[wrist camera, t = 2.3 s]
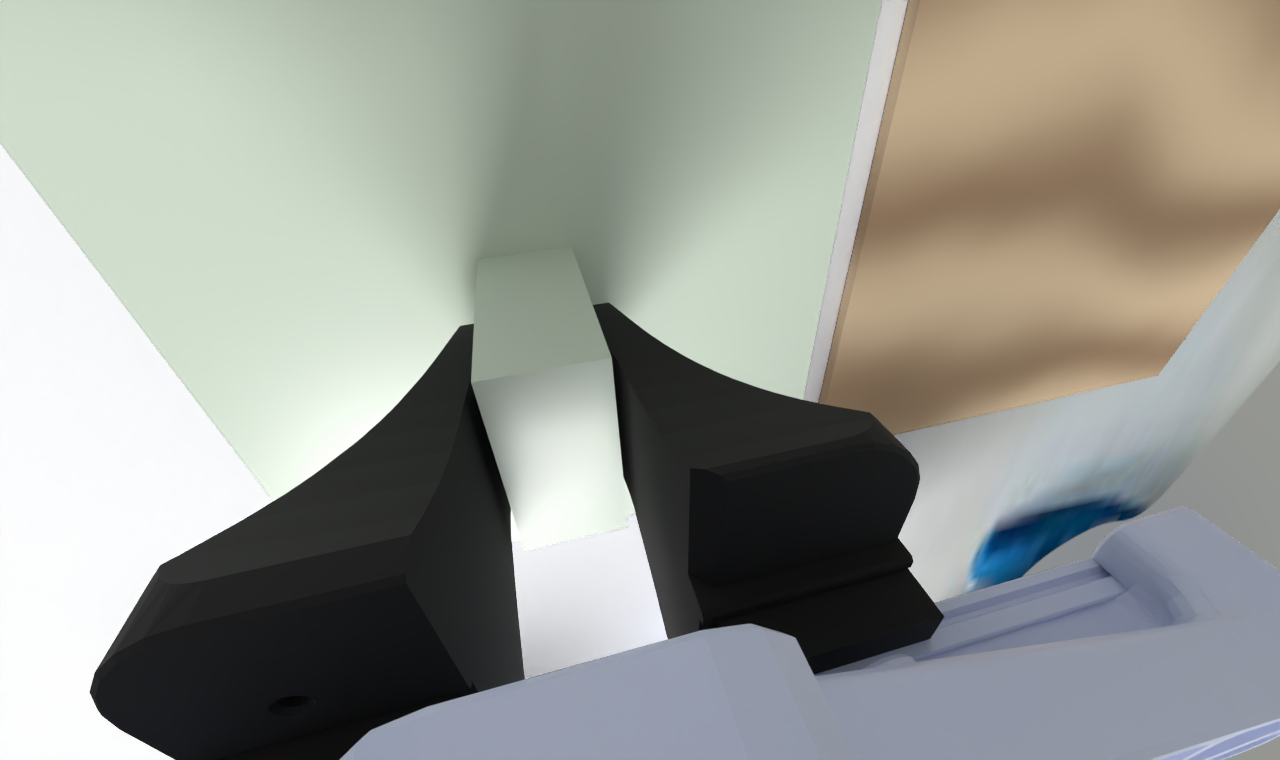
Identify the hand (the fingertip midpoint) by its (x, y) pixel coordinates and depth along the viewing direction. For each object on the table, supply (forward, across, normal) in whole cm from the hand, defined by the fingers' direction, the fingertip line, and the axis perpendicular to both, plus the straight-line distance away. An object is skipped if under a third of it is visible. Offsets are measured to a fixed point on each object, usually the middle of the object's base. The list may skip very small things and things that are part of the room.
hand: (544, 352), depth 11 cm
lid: (+1, 0, 0) cm, 1 cm away
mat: (+3, -19, 0) cm, 19 cm away
